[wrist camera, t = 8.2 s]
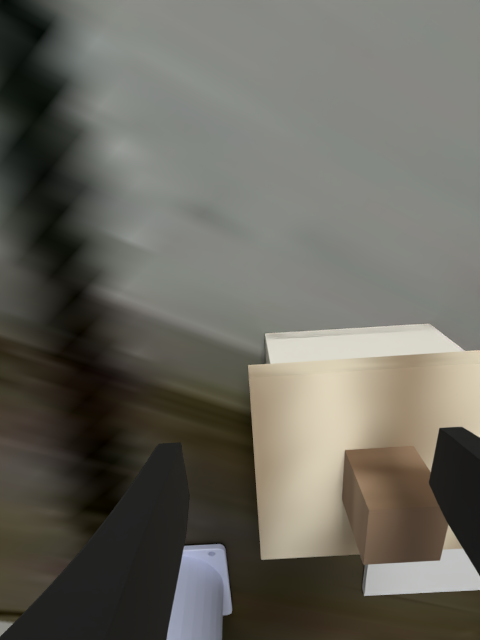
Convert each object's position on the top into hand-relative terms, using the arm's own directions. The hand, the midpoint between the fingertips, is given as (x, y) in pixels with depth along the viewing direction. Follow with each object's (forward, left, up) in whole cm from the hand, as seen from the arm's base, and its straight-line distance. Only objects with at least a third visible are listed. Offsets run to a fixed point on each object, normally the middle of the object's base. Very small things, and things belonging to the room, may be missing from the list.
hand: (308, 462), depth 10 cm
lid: (+4, -5, -5) cm, 9 cm away
